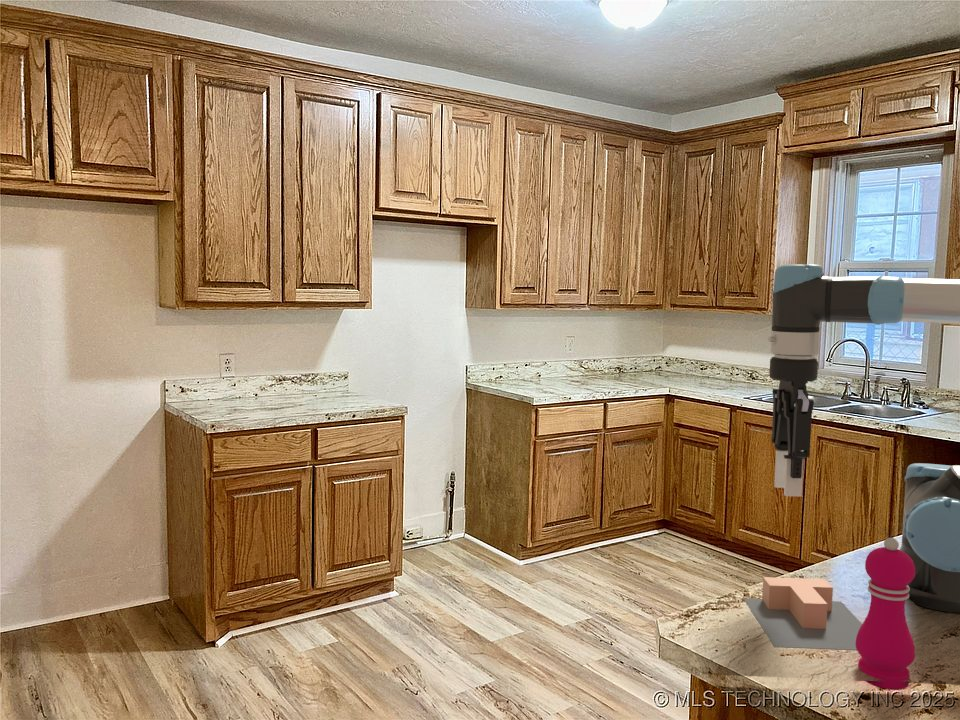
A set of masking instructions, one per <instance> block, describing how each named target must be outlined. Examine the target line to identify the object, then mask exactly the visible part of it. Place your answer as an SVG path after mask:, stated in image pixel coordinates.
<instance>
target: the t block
mask: <svg viewBox="0 0 960 720" xmlns="http://www.w3.org/2000/svg"><path fill="white" fill-rule="evenodd" d="M833 590H834V587H833V586H832V585H831V584H830V582H828V581H827V580H826V579H825V578H803V577H801V578H798V577H797V578H796V577H772V576H771V577H769V576H767V577H766V576H763V577H762V595H761V597H762V598H761V599H762V600H763V602H764V603H765V605H766V606H767V607H768V609H782V610H790V612H791V613H792V614H793V616H794V617H795V618H796V620H797V621H798V622H799V624H800V625H801V626H802V627H803V628H817V629H826V624H827V611H832V601H833V593H834V591H833Z"/></svg>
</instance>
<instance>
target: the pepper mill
mask: <svg viewBox="0 0 960 720" xmlns="http://www.w3.org/2000/svg"><path fill="white" fill-rule="evenodd" d="M899 545H900V544H899V541H898V540H897V539H896V538H894V537H887V538H885V539H884V541H883V547H882V546H881V547H878V548H874V549H873V550H871V551H870V552H869V553H868V555H867V556H866V559H865V562H864V563H865V564H864V566H865V567H864V569H865V572H866V574H867V576H869V578H870V579H869V580H868V582H867V584H868V587H867V592H869V594H870V605H869V609H868V613H867V615H866V617H865V619H864V621H863V622H862V625H861V627H860V628H859V631H858V634H857V637H856V649H857V650H856V651H857V653H858V655H859V656H860V658H859V659H858V662H857V663H858V668H859V669H860V670H861V672H863V673H864V674H865V675H868V676H870V677H871V678H874V679H877V680H871V679H870V680H869V679H868V680H866V679H865V680H864V682H866V683H868V684H871V685H872V686H875V687H878V688H881V689H886V690H902V689H903V690H904V689H906V688H907V687H909V684H910V682H909V681H907V680H908V679H909V678H910V669H909V668H908V667H909V666H910V665H912V663H913V662H914V661H915V658H916V646H915V643H914V639H913V636H912V633H911V632H910V628H909V627H908V622H907V618H906V610H905V606H906V600H909V591H910V588H909V586H908V584H909V583H910V582H911V581H912V580H913V579H914V576H915V566H914V563H913V561H912V559H911V558H910V557H909V556H908V555H907V554H906V553H905V552H903V551H901V550H900V549H899V547H900V546H899Z"/></svg>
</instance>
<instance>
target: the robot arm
mask: <svg viewBox="0 0 960 720" xmlns="http://www.w3.org/2000/svg"><path fill="white" fill-rule="evenodd" d="M823 270H824V269H823V266H822V265H820V264H781V265H779V266H777V268H776V269H775V271H774V277H773V278H774V279H773V289H772V292H771V293H772V299H771V300H772V304H771V305H772V310H771V336H769V337H768V338H767V340H768V343H770V353H771V355H773V356H771V358H770V359H769V374H768V375H769V378H770V379H772V380H775V381H779V384H778V388H777V387H774V388H772V391H771V392H772V400H773V401H772V403H773V405H772V406H773V407H772V424H771V425H772V426H771V442H772V444H774V449H775V462H774V464H775V465H774V466H775V467H774V481H773V482H774V483H773V484H774V488H776V489H777V488H779V489H783V496H785V497H803V484H804V483H803V481H804V460H805V459H806V458H807V459H808V458H810V457H811V456H810V455H811V453H810V452H811V439H812V438H811V434H812V418H813V417H812V416H813V410H814V405H815V402H814V399H813V398H809V392H808V391H807V390H808V389H807V383H808V382H815V381H817V379H818V375H819V374H818V373H819V360H818V359H817V358H816V356H819V354H820V341H821V339H820V338H821V330H820V329H821V328H820V325H821V322H822V323H823V322H825V323H850V324H875V325H883V324H898V323H900V322H907V323H908V322H909V323H912V322H913V323H923V324H924V323H926V324H943V325H960V278H959V279H958V278H957V279H956V278H955V279H954V278H948V279H947V278H920V277H919V278H918V277H917V278H916V277H913V278H912V277H900V276H887V275H878V276H876V275H875V276H874V275H872V276H871V275H870V276H868V275H867V276H864V275H863V276H862V275H861V276H859V275H858V276H828V275H824V271H823ZM903 480H904V482H905V485H904V487H905V488H904V500H903V501H904V502H903V503H904V504H903V517H902V533H901V534H902V535H901V536H902V537H901V544H900V545H901V547H900V548H899V550H901V551H903V552H905V553H906V554H907V555H908V556H909V557H910V558H911V559H912V561H913V563H914V566H915V576H914V579H913V580H912V581H911V582H910V583H909V584H908V586H909V588H910V591H909V598H908V600H910V601H911V602H912V603H913V604H915V606H916V605H917V606H919V607H922V608H925V609H931V610H936V611H941V612H947V613H956V614H957V613H959V614H960V465H959V464H958V465H957V464H955V465H946V464H937V463H936V464H935V463H919V462H917V463H916V462H915V463H911V464H909V465H908V466H907V468H906V473H905V476H904V479H903Z"/></svg>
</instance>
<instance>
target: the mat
mask: <svg viewBox="0 0 960 720" xmlns="http://www.w3.org/2000/svg"><path fill="white" fill-rule="evenodd" d="M743 600H744V602H745V604H746V605H747V606H748V609H750V611H751V613H752V614H753V616H754V618H755V620H757V622H758V624H759V625H760V627H761V628H762V629H763V631H764V633H765V634H766V636H767V638H768V639H769V641H770V642H771V645H773V646H774V648H786V649H787V648H791V649H792V648H795V649H816V650H817V649H818V650H822V649H823V650H839V651H840V650H845V651H857V649H856V637H857V634H858V631H859V628H860V627H861V625H862V624H863V622H861V620H859V619H858V618H857V617H856V616H855V615H854V614H853V613H852V611H850V610H849V608H847V606H846V605H844V603H843V602H842V601H838V600H836V601H835V600H832V611H827V624H826V629H817V628H803V627H802V626H801V625H800V624H799V622H798V621H797V620H796V618H795V617H794V616H793V614H792V613H791V612H790V610H782V609H768V607H767V606H766V605H765V603H764V602H763V600H762V598H754V597H753V598H749V597H748V598H747V597H746V598H745V597H743Z"/></svg>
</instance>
